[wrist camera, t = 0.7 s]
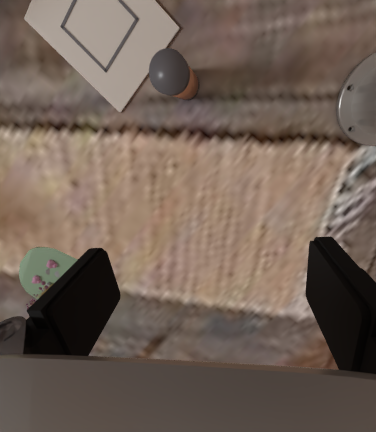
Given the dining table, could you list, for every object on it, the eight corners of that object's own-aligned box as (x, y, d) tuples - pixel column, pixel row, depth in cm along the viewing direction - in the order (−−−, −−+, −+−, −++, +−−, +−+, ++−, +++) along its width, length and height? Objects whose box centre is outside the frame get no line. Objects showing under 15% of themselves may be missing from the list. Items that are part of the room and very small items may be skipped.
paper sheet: (71, -94, 29) (69, -97, 28) (179, 28, 32) (179, 27, 32) (25, 19, 35) (23, 18, 34) (120, 112, 38) (119, 112, 38)
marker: (185, 62, 34) (165, 37, 23) (205, 84, 34) (195, 70, 24) (167, 86, 35) (141, 73, 24) (186, 106, 36) (169, 103, 25)
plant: (102, 244, 51) (78, 269, 43) (122, 312, 59) (106, 344, 51) (10, 246, 55) (-28, 269, 47) (41, 309, 64) (13, 337, 55)
